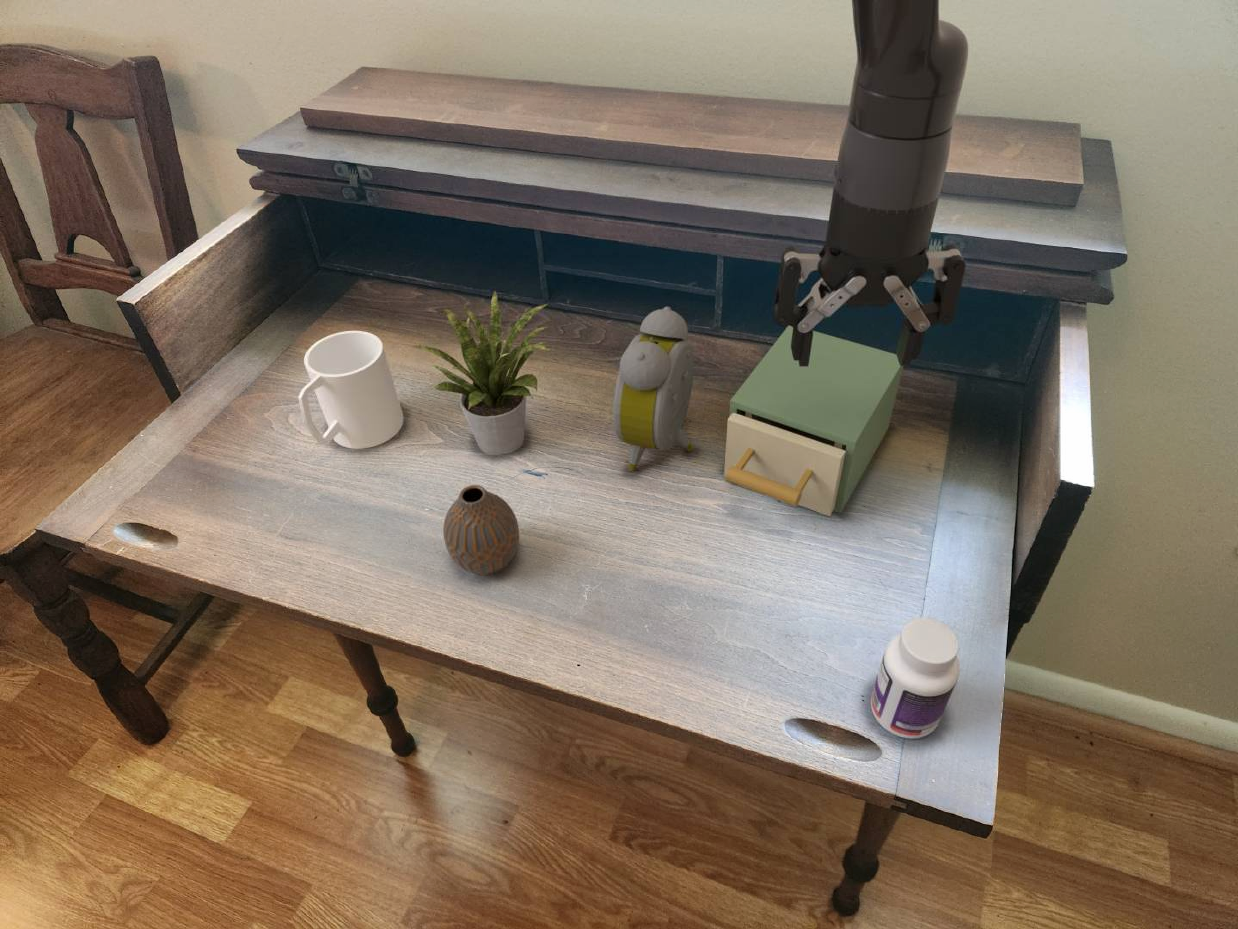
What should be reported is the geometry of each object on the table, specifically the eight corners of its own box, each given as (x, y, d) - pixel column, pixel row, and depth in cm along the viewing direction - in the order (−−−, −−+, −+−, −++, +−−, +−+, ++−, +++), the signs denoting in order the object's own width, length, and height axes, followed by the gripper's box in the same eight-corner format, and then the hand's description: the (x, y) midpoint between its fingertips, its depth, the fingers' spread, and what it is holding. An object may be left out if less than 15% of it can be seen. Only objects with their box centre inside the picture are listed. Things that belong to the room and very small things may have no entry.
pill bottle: (953, 711, 66) (985, 641, 59) (913, 754, 64) (941, 686, 57) (895, 667, 69) (920, 597, 62) (855, 707, 67) (876, 638, 60)
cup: (293, 460, 91) (262, 388, 84) (359, 395, 99) (336, 324, 92) (354, 479, 88) (327, 406, 81) (417, 410, 96) (397, 339, 89)
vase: (498, 519, 83) (484, 456, 77) (537, 560, 79) (526, 496, 73) (438, 554, 80) (419, 491, 74) (475, 598, 76) (458, 535, 70)
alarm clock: (650, 406, 95) (647, 293, 85) (707, 418, 93) (712, 303, 83) (614, 474, 87) (606, 359, 77) (676, 488, 85) (677, 372, 75)
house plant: (596, 413, 94) (587, 289, 83) (545, 496, 85) (526, 369, 74) (486, 388, 99) (462, 267, 87) (425, 465, 89) (390, 340, 78)
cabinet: (840, 514, 82) (856, 442, 75) (725, 470, 87) (730, 400, 80) (888, 428, 91) (905, 356, 84) (781, 393, 96) (789, 323, 89)
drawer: (812, 548, 78) (822, 490, 72) (703, 505, 82) (705, 447, 77) (876, 435, 89) (889, 377, 83) (776, 402, 93) (783, 345, 88)
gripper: (794, 208, 58) (773, 389, 69) (1002, 204, 57) (947, 387, 69) (783, 161, 63) (765, 336, 75) (973, 157, 63) (926, 334, 74)
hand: (852, 360), depth 72 cm, fingers open, 8 cm apart
